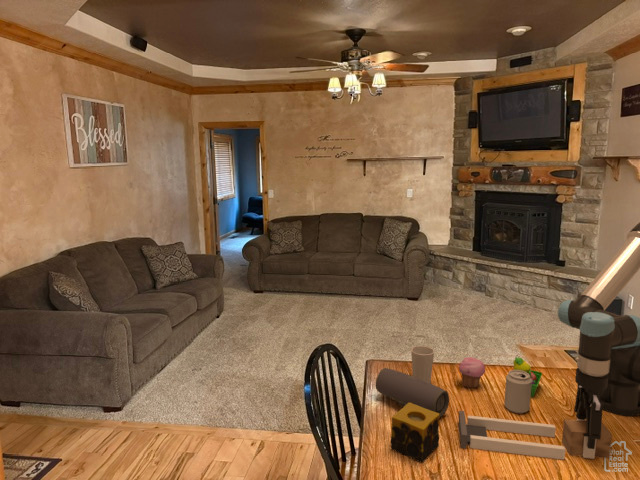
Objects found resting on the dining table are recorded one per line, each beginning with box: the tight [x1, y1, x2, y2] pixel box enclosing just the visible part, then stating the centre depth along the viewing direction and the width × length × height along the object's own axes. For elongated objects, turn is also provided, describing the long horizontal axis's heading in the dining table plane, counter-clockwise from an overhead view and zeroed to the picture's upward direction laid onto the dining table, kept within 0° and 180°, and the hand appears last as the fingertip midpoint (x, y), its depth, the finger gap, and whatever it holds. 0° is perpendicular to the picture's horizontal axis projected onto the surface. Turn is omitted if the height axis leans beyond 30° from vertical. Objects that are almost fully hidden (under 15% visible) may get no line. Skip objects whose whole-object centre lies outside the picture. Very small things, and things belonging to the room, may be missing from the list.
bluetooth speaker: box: [375, 367, 450, 418], centre depth 154 cm, size 23×9×10 cm, turn 44°
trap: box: [458, 410, 488, 449], centre depth 138 cm, size 8×13×4 cm, turn 167°
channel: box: [466, 415, 566, 460], centre depth 136 cm, size 24×12×3 cm, turn 77°
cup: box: [410, 345, 435, 384], centre depth 170 cm, size 8×8×12 cm
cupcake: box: [458, 356, 486, 389], centre depth 168 cm, size 9×9×10 cm
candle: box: [390, 403, 440, 463], centre depth 133 cm, size 10×10×10 cm
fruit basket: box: [512, 356, 543, 398], centre depth 165 cm, size 11×9×11 cm
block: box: [561, 419, 613, 459], centre depth 131 cm, size 10×6×7 cm, turn 81°
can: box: [503, 369, 532, 414], centre depth 152 cm, size 8×8×12 cm
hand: (584, 448), depth 132 cm, fingers open, 7 cm apart
